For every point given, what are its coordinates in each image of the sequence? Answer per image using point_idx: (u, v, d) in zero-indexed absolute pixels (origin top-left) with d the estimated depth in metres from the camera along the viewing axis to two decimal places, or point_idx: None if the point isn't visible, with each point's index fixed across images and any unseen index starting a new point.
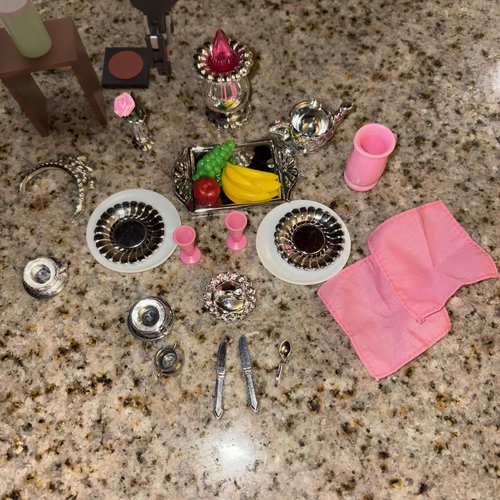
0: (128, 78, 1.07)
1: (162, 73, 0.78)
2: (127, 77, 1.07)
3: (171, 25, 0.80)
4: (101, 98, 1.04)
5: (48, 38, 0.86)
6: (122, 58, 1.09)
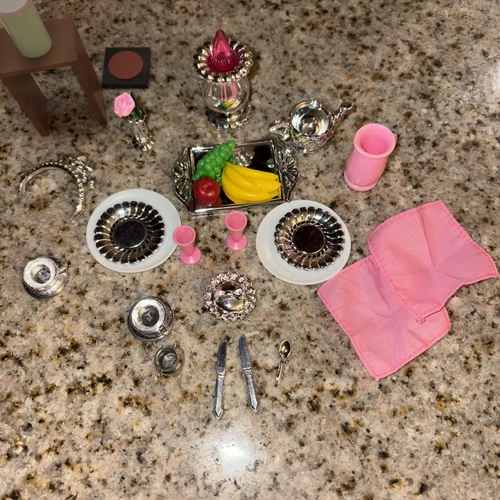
0: (128, 78, 1.07)
1: None
2: (127, 77, 1.07)
3: None
4: (101, 98, 1.04)
5: (48, 38, 0.86)
6: (122, 58, 1.09)
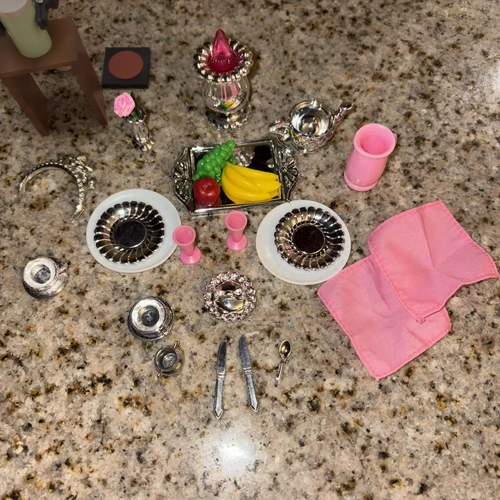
0: (128, 78, 1.07)
1: (46, 18, 0.81)
2: (127, 77, 1.07)
3: (4, 28, 0.82)
4: (101, 98, 1.04)
5: (48, 38, 0.86)
6: (122, 58, 1.09)
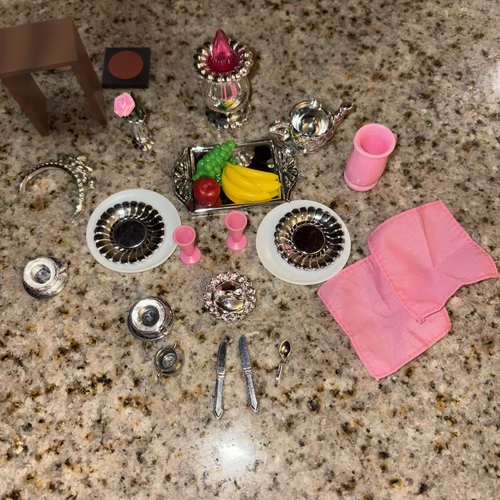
0: (128, 78, 1.07)
1: None
2: (127, 77, 1.07)
3: None
4: (101, 98, 1.04)
5: None
6: (122, 58, 1.09)
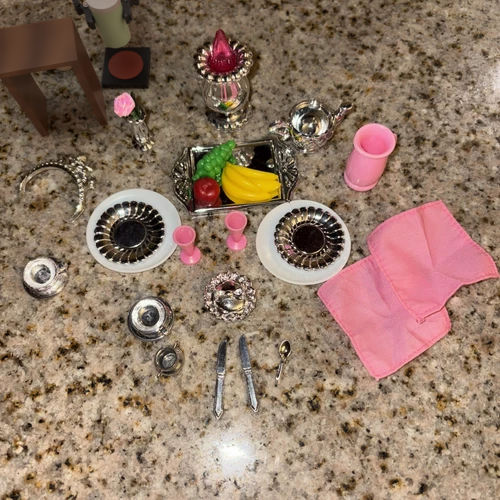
0: (128, 78, 1.07)
1: (131, 13, 0.94)
2: (127, 77, 1.07)
3: (94, 22, 0.95)
4: (101, 98, 1.04)
5: (129, 31, 0.99)
6: (122, 58, 1.09)
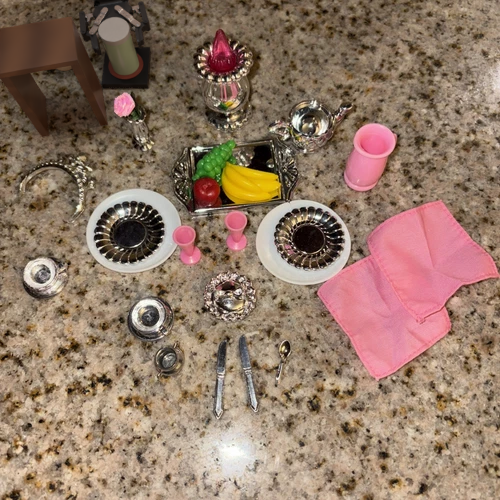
0: (128, 78, 1.07)
1: (143, 38, 1.02)
2: (127, 77, 1.07)
3: None
4: (101, 98, 1.04)
5: (137, 59, 1.07)
6: None
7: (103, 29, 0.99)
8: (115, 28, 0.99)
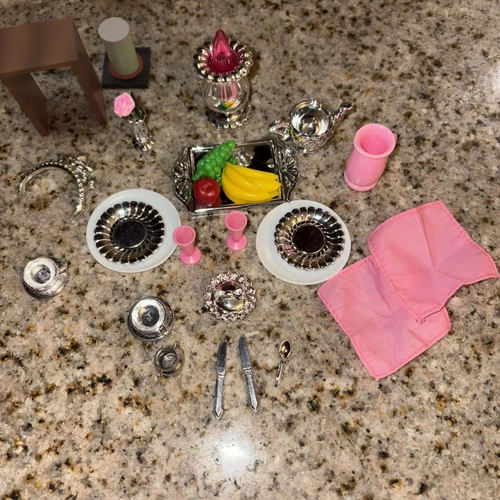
0: (128, 78, 1.07)
1: None
2: (127, 77, 1.07)
3: None
4: (101, 98, 1.04)
5: (137, 59, 1.07)
6: None
7: (103, 29, 0.99)
8: (115, 28, 0.99)
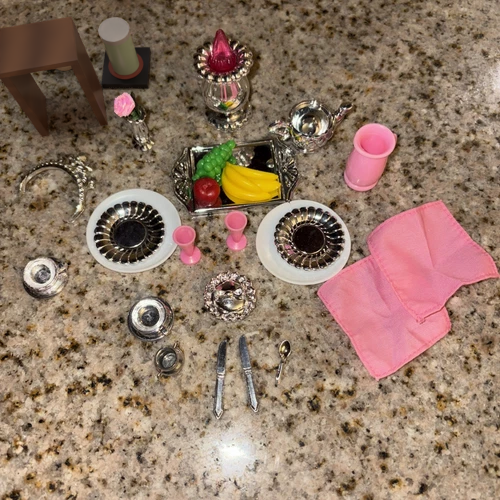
0: (128, 78, 1.07)
1: None
2: (127, 77, 1.07)
3: None
4: (101, 98, 1.04)
5: (137, 59, 1.07)
6: None
7: (103, 29, 0.99)
8: (115, 28, 0.99)
